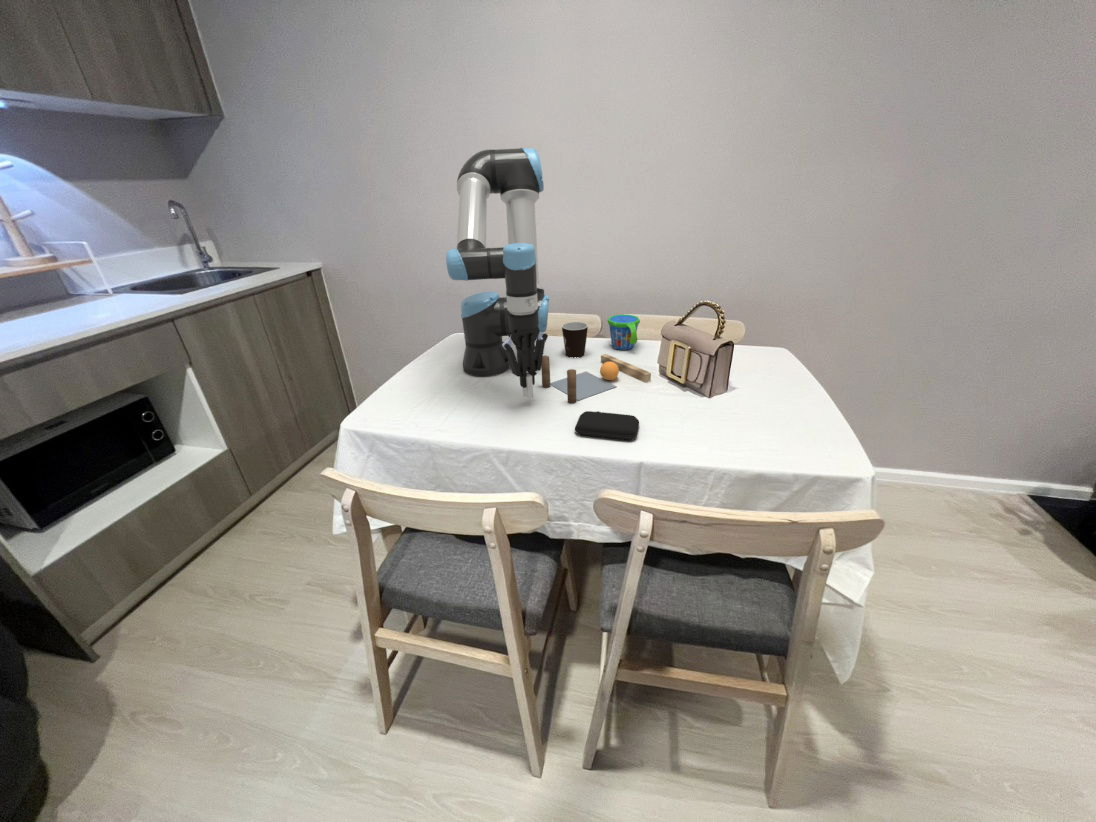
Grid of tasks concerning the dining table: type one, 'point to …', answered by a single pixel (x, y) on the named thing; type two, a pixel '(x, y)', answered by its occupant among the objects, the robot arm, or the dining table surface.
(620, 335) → the snack cup
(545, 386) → the left post
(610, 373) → the ball
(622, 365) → the stopper wall
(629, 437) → the carrying case or bag
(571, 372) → the right post
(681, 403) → the dining table surface
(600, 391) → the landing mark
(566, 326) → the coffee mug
